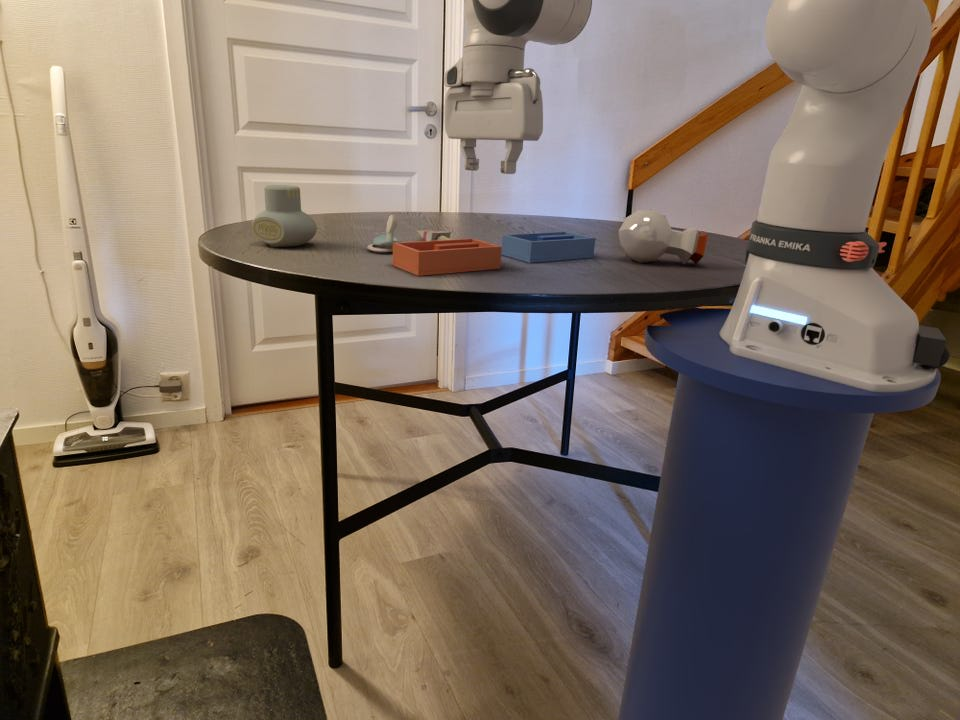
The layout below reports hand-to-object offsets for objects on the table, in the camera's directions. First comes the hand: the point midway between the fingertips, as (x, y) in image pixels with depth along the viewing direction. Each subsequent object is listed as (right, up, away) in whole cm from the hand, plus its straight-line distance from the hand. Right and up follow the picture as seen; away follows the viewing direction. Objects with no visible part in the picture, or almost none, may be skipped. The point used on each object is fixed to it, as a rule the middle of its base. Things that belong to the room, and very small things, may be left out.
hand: (489, 172), depth 94 cm
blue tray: (+11, -10, +19) cm, 24 cm away
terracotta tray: (-7, -14, +5) cm, 16 cm away
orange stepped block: (-7, -13, +5) cm, 15 cm away
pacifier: (-18, -9, +15) cm, 26 cm away
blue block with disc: (+11, -9, +19) cm, 23 cm away
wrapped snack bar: (-9, -8, +22) cm, 25 cm away
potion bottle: (+31, -11, +19) cm, 38 cm away
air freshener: (-36, -8, +16) cm, 40 cm away
